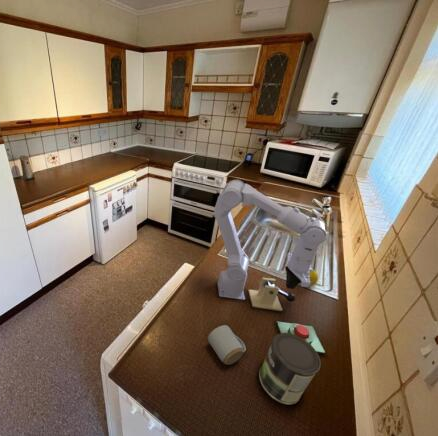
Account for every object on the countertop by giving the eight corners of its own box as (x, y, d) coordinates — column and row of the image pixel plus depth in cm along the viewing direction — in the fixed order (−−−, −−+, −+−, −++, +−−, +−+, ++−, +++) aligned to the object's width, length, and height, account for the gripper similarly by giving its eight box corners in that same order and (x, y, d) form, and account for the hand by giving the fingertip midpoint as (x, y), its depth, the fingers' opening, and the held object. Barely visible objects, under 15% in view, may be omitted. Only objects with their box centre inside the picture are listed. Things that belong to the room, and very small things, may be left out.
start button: (296, 337, 73) (298, 334, 72) (292, 327, 76) (294, 323, 75) (309, 339, 73) (311, 336, 72) (304, 329, 76) (306, 325, 75)
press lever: (289, 298, 88) (295, 293, 87) (292, 304, 85) (298, 299, 84) (262, 284, 87) (267, 279, 86) (264, 290, 85) (270, 285, 83)
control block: (284, 349, 73) (287, 342, 71) (275, 323, 80) (278, 317, 79) (323, 355, 71) (327, 349, 70) (311, 328, 79) (314, 323, 77)
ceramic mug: (222, 370, 67) (227, 354, 63) (205, 345, 73) (209, 328, 70) (251, 356, 71) (257, 340, 67) (232, 333, 77) (237, 317, 73)
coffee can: (257, 392, 62) (271, 361, 55) (260, 357, 70) (272, 326, 63) (302, 413, 58) (324, 382, 51) (299, 373, 66) (318, 342, 60)
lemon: (316, 291, 94) (323, 275, 90) (300, 288, 95) (307, 273, 91) (310, 281, 98) (317, 266, 95) (296, 279, 99) (302, 264, 95)
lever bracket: (275, 295, 92) (282, 276, 87) (281, 312, 85) (289, 293, 80) (248, 291, 93) (253, 273, 89) (252, 307, 86) (258, 289, 82)
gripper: (327, 272, 68) (311, 305, 74) (307, 243, 80) (294, 274, 87) (301, 269, 69) (287, 302, 75) (285, 241, 81) (274, 271, 88)
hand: (289, 287), depth 81 cm, fingers closed
